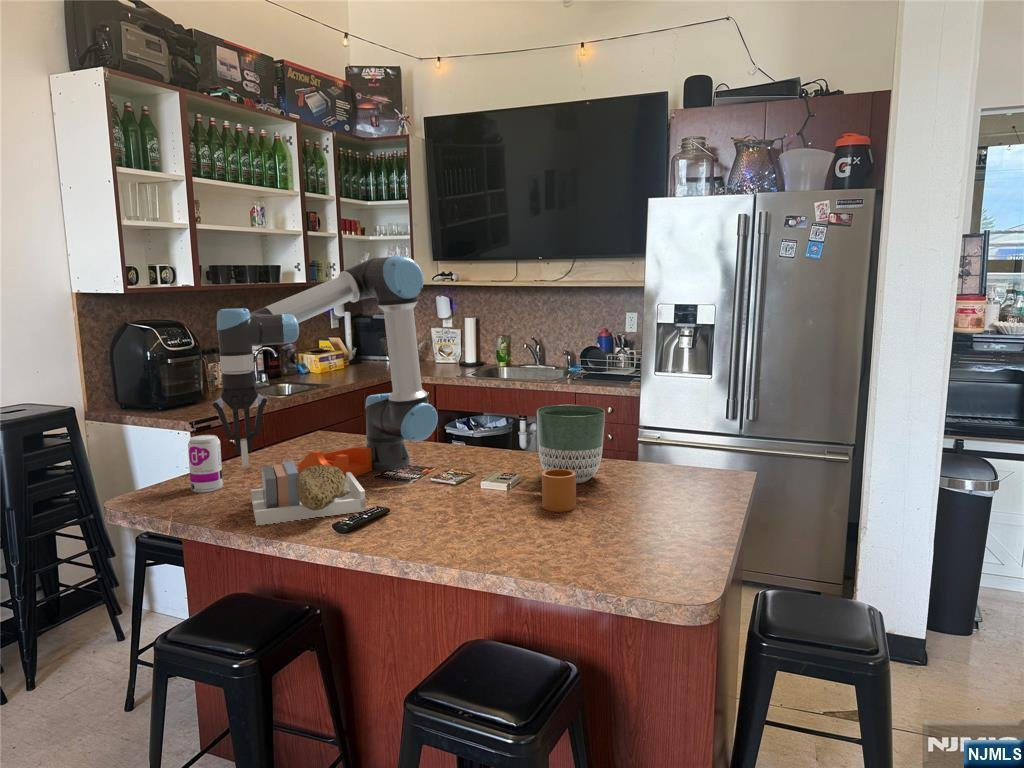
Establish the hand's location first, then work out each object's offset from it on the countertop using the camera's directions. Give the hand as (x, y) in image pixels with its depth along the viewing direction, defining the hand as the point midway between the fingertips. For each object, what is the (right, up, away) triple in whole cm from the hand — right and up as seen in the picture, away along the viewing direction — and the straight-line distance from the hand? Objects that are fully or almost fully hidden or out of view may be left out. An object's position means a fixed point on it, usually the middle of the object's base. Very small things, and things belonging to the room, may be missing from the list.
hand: (245, 465), depth 173 cm
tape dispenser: (+13, -8, +38) cm, 41 cm away
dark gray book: (+6, -10, +2) cm, 12 cm away
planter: (+84, -9, +28) cm, 89 cm away
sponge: (+22, -7, +8) cm, 24 cm away
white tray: (+14, -12, +6) cm, 19 cm away
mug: (+80, -11, +7) cm, 81 cm away
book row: (+9, -12, +4) cm, 16 cm away
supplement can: (-19, -10, +22) cm, 31 cm away
